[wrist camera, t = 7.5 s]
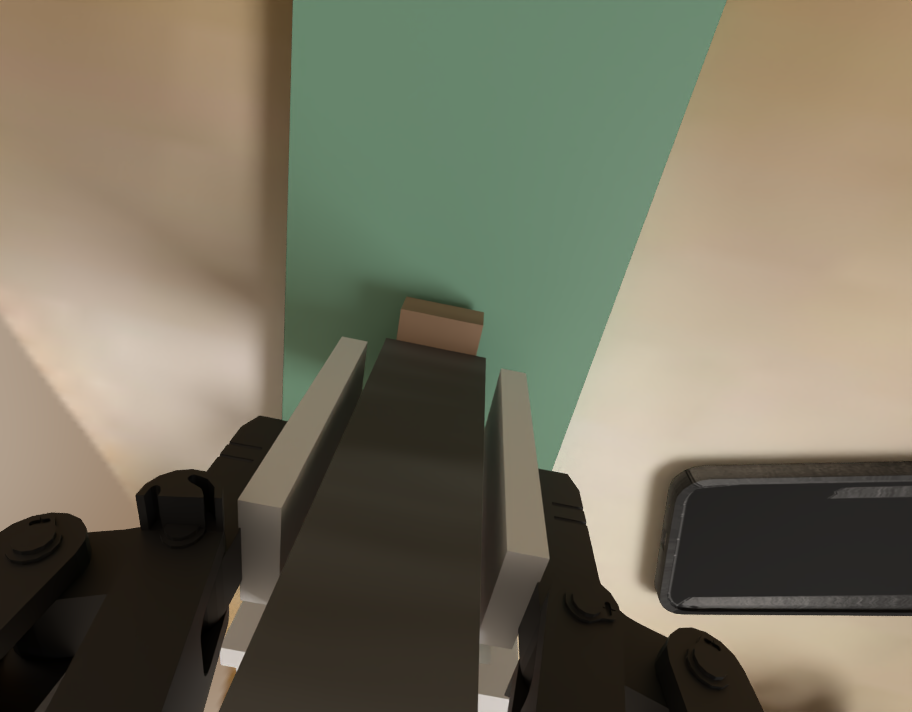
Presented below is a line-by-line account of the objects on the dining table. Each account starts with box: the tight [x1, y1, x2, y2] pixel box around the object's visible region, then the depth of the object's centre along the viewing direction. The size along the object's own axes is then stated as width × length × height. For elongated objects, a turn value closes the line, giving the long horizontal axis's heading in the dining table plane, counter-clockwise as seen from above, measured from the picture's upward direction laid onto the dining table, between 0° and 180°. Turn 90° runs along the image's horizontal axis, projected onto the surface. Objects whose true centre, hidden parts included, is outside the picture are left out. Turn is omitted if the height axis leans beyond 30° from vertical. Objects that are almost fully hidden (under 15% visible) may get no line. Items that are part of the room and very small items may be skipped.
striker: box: [219, 296, 486, 712], centre depth 12 cm, size 9×5×11 cm, turn 169°
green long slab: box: [220, 0, 727, 712], centre depth 14 cm, size 31×10×6 cm, turn 169°
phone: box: [654, 461, 912, 616], centre depth 20 cm, size 8×1×15 cm
